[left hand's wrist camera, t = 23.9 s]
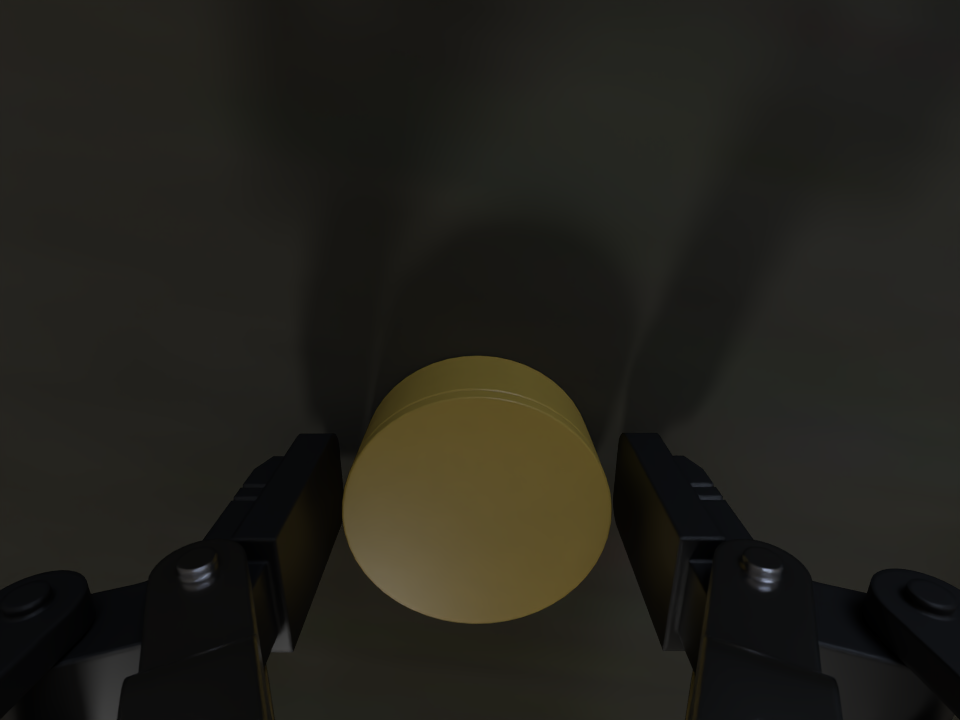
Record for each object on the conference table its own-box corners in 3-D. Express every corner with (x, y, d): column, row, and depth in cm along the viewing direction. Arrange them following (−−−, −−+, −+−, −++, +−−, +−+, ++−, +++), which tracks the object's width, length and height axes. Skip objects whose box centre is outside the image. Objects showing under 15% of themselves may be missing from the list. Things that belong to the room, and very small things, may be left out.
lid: (617, 514, 13) (644, 581, 11) (418, 577, 14) (407, 652, 12) (547, 319, 11) (562, 355, 9) (324, 402, 12) (293, 453, 10)
